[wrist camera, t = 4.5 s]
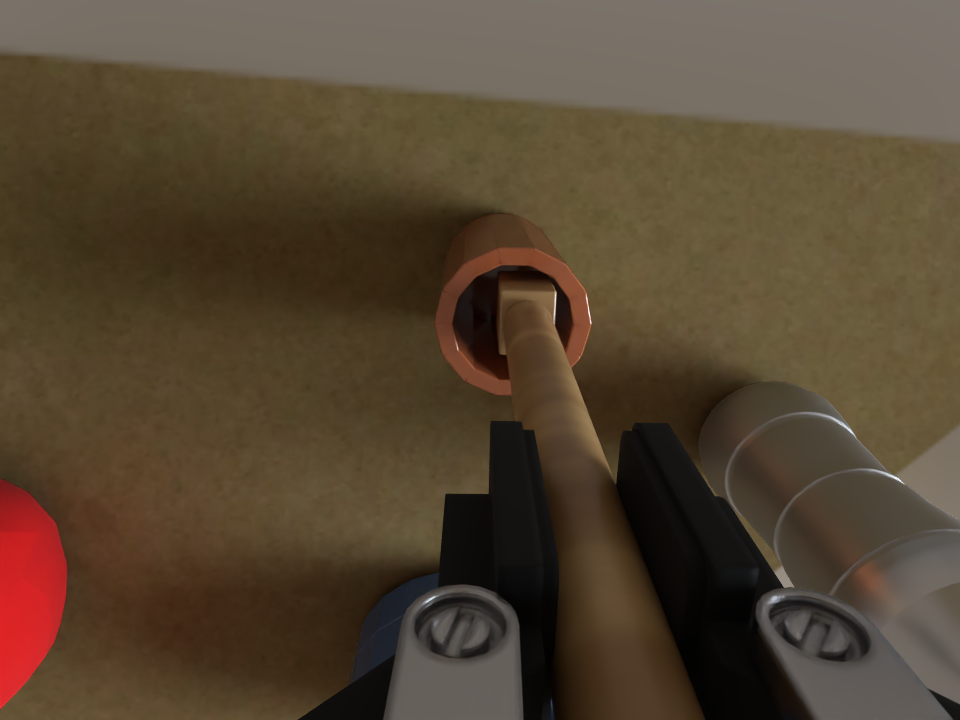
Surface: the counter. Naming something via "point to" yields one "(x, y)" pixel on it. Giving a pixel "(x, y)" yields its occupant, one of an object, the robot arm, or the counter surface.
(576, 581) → the stirring stick
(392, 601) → the bowl
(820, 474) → the silver metal bottle
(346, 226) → the counter surface
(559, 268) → the crock
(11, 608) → the tomato
